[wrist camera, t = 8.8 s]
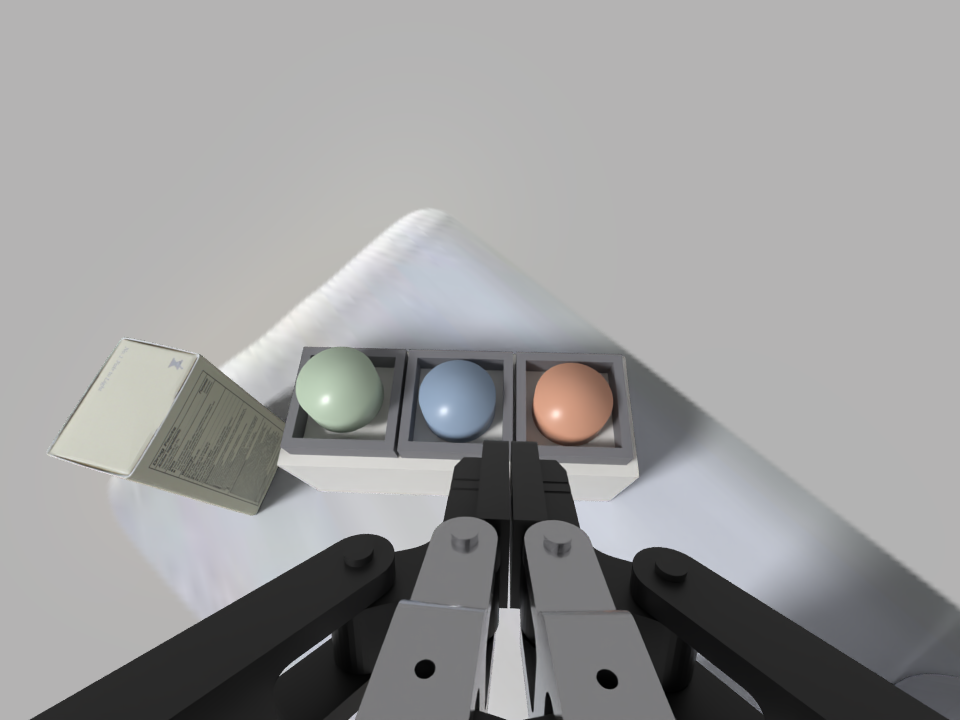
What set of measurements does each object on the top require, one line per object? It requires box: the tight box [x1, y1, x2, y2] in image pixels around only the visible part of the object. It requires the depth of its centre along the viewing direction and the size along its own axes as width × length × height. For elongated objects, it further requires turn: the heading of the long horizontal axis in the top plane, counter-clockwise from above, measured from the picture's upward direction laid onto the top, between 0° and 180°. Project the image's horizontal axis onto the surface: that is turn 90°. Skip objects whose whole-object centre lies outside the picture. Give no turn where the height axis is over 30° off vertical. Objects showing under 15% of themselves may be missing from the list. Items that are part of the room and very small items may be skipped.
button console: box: [277, 347, 639, 502], centre depth 28 cm, size 19×7×8 cm, turn 88°
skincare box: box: [47, 337, 285, 515], centre depth 26 cm, size 6×4×12 cm
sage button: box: [296, 347, 384, 433], centre depth 24 cm, size 4×4×2 cm
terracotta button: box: [532, 363, 613, 446], centre depth 25 cm, size 4×4×2 cm
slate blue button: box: [419, 360, 496, 443], centre depth 25 cm, size 4×4×2 cm
